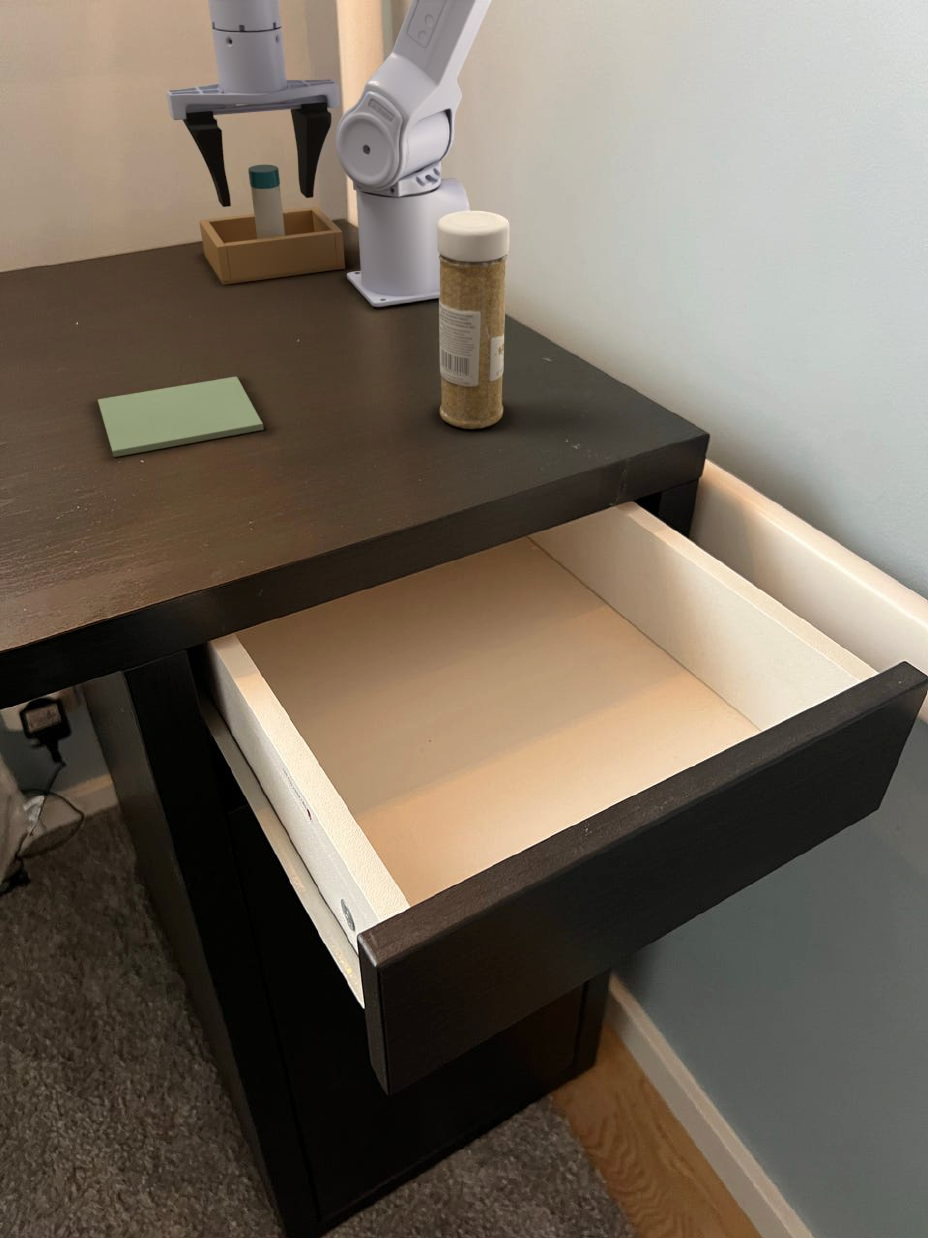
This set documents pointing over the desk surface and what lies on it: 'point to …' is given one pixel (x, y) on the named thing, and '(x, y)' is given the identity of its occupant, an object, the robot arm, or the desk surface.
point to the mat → (178, 416)
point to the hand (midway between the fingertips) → (266, 199)
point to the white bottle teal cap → (266, 201)
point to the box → (272, 246)
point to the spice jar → (472, 316)
